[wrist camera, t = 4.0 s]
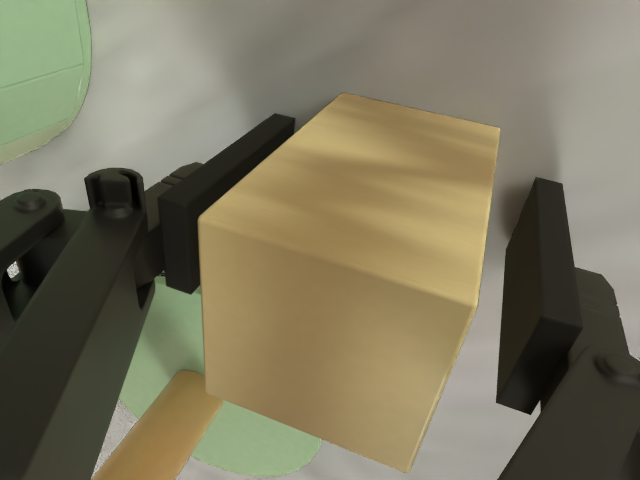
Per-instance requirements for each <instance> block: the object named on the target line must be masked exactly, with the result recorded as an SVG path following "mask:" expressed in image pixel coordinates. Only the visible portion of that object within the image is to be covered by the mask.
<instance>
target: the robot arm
mask: <svg viewBox="0 0 640 480" xmlns="http://www.w3.org/2000/svg"><path fill="white" fill-rule="evenodd" d="M294 127H295V118H292V117H288V116H284V115H280V114H276V113H275V114H273V115H272V116H270V117H269V118H268V119H266V120H265V121H263V122H262V123H261V124H259V125H258V126H256V127H255V128H254V129H252V130H251V131H249V132H248V133H247V134H245V135H244V136H242V137H241V138H240V139H238V140H237V141H235V142H234V143H233V144H231V145H230V146H228V147H227V148H226V149H224V150H223V151H221V152H220V153H219V154H217V155H216V156H215V157H213V158H212V159H210V160H209V161H208V162H206V163H205V164H201V163H198V162H195V163H192V164H189V165H186V166H182V167H180V168H179V169H177V170H176V171H174V172H173V173H171V174H170V176H167V177H165V178H164V179H162V180H161V182H158V183H156V184H155V185H153V186H152V187H150V188H149V189H148V190H146V191H145V192H144V184H143V177H142V176H141V175H140V174H139V173H138V172H136V171H134V170H131V169H125V168H107V169H102V170H98V171H95V172H93V173H90V174H89V175H88V176H87V177H85V178H84V180H85V185H86V191H87V196H88V201H89V206H90V209H89V211H78V210H67V209H63V207H62V203H61V198H60V196H59V195H58V194H57V193H55V192H52V191H49V190H42V189H32V190H31V189H28V190H24V191H21V192H17V193H14V194H12V195H10V196H8V197H6V198H4V199H3V200H1V201H0V480H91V477H92V474H93V471H94V468H95V465H96V462H97V459H98V456H99V454H100V451H101V448H102V445H103V442H104V439H105V436H106V433H107V430H108V427H109V425H110V422H111V419H112V416H113V413H114V410H115V407H116V404H117V401H118V398H119V396H120V393H121V390H122V387H123V384H124V381H125V378H126V375H127V372H128V369H129V366H130V364H131V361H132V358H133V355H134V352H135V349H136V346H137V343H138V340H139V337H140V335H141V332H142V329H143V326H144V323H145V320H146V317H147V314H148V311H149V308H150V306H151V303H152V300H153V297H154V294H155V278H156V277H157V276H158V275H159V274H160V273H161V272H162V271H163V270H165V280H166V286H167V287H170V288H173V289H175V290H178V291H181V292H184V293H187V294H190V295H191V294H192V293H193V292H194V291H195V290H196V289H197V288H198V287H199V286H200V264H199V242H198V218H199V216H200V215H201V214H202V213H203V212H205V211H206V210H207V209H208V208H209V207H210V206H212V205H213V204H214V203H215V202H216V201H217V200H219V199H220V198H221V197H222V196H223V195H224V194H225V193H227V192H228V191H229V190H230V189H231V188H232V187H234V186H235V185H236V184H237V183H238V182H239V181H241V180H242V179H243V178H244V177H245V176H246V175H247V174H249V173H250V172H251V171H252V170H253V169H254V168H256V167H257V166H258V165H259V164H260V163H261V162H262V161H264V160H265V159H266V158H267V157H268V156H269V155H271V154H272V153H273V152H274V151H275V150H276V149H278V148H279V147H280V146H281V145H282V144H283V143H284V142H286V141H287V140H288V139H289V138H290V137H291V136H293V135H294ZM15 261H16V263H17V266H18V269H19V273H18V274H17V275H16V276H15V277H13V278H10V277H9V275H8V272H7V269H8V267H9V266H10V265H11V264H13V263H14V262H15ZM616 304H617V301H616V297H615V293H614V289H613V288H612V287H611V286H610V284H609V283H608V282H607V281H606V279H605V278H604V277H603V276H602V275H601V274H598V273H594V272H591V271H587V270H583V269H580V268H576V267H574V260H573V253H572V247H571V240H570V233H569V226H568V219H567V212H566V205H565V198H564V191H563V184H562V183H558V182H554V181H550V180H545V179H541V178H537V177H536V179H535V181H534V183H533V186H532V188H531V191H530V193H529V195H528V198H527V200H526V203H525V205H524V207H523V210H522V212H521V215H520V217H519V219H518V222H517V224H516V227H515V229H514V231H513V234H512V236H511V239H510V241H509V243H508V246H507V248H506V255H505V271H504V287H503V302H502V318H501V333H500V349H499V364H498V380H497V395H496V403H498V404H501V405H504V406H507V407H510V408H512V409H515V410H518V411H521V412H524V413H527V414H529V415H531V414H532V412H533V410H534V409H535V407H536V405H537V404H538V402H539V400H540V407H541V413H540V415H539V416H538V418H537V419H536V421H535V423H534V424H533V426H532V427H531V429H530V430H529V432H528V433H527V435H526V436H525V438H524V439H523V441H522V443H521V444H520V446H519V447H518V449H517V450H516V452H515V453H514V455H513V456H512V458H511V459H510V461H509V463H508V464H507V466H506V467H505V469H504V470H503V472H502V473H501V475H500V476H499V478H498V479H497V480H640V362H639V361H638V360H637V359H635V358H634V357H632V356H631V355H630V354H629V350H628V346H627V342H626V338H625V334H624V330H623V326H622V322H621V318H619V316H620V314H619V310H618V306H616Z"/></svg>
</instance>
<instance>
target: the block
mask: <svg viewBox="0 0 640 480" xmlns="http://www.w3.org/2000/svg"><path fill="white" fill-rule="evenodd" d="M499 137H500V129H499V128H497V127H493V126H489V125H484V124H480V123H475V122H471V121H467V120H462V119H458V118H453V117H449V116H444V115H440V114H436V113H431V112H427V111H422V110H418V109H414V108H409V107H405V106H400V105H396V104H391V103H387V102H383V101H378V100H374V99H369V98H365V97H361V96H356V95H352V94H347V93H341V94H340V95H339V96H338V97H337V98H335V99H334V100H333V101H332V102H331V103H330V104H328V105H327V106H326V107H325V108H324V109H323V110H321V111H320V112H319V113H318V114H317V115H316V116H315V117H313V118H312V119H311V120H310V121H309V122H308V123H306V124H305V125H304V126H303V127H302V128H301V129H300V130H298V131H297V132H296V133H295V134H294V135H293V136H291V137H290V138H289V139H288V140H287V141H286V142H284V143H283V144H282V145H281V146H280V147H279V148H278V149H276V150H275V151H274V152H273V153H272V154H271V155H269V156H268V157H267V158H266V159H265V160H264V161H262V162H261V163H260V164H259V165H258V166H257V167H256V168H254V169H253V170H252V171H251V172H250V173H249V174H247V175H246V176H245V177H244V178H243V179H242V180H241V181H239V182H238V183H237V184H236V185H235V186H234V187H232V188H231V189H230V190H229V191H228V192H227V193H225V194H224V195H223V196H222V197H221V198H220V199H219V200H217V201H216V202H215V203H214V204H213V205H212V206H210V207H209V208H208V209H207V210H206V211H205V212H203V213H202V214H201V215H200V216H199V218H198V242H199V264H200V286H201V308H202V331H203V353H204V375H205V391H206V392H207V393H208V394H211V395H213V396H216V397H218V398H220V399H223V400H225V401H228V402H230V403H233V404H235V405H238V406H240V407H243V408H245V409H248V410H250V411H253V412H255V413H258V414H260V415H263V416H265V417H268V418H270V419H273V420H275V421H278V422H280V423H283V424H285V425H288V426H290V427H292V428H295V429H297V430H300V431H302V432H305V433H307V434H310V435H312V436H315V437H317V438H320V439H322V440H325V441H327V442H330V443H332V444H335V445H337V446H340V447H342V448H345V449H347V450H350V451H352V452H355V453H357V454H360V455H362V456H364V457H367V458H369V459H372V460H374V461H377V462H379V463H382V464H384V465H387V466H389V467H392V468H394V469H397V470H399V471H402V472H404V473H408V472H409V471H410V470H411V468H412V465H413V463H414V460H415V458H416V455H417V453H418V451H419V448H420V446H421V443H422V441H423V438H424V436H425V434H426V431H427V429H428V426H429V424H430V421H431V419H432V416H433V414H434V412H435V409H436V407H437V404H438V402H439V399H440V397H441V394H442V392H443V390H444V387H445V385H446V382H447V380H448V377H449V375H450V373H451V370H452V368H453V365H454V363H455V360H456V358H457V355H458V353H459V351H460V348H461V346H462V343H463V341H464V338H465V336H466V333H467V331H468V329H469V326H470V324H471V321H472V319H473V316H474V314H475V311H476V309H477V307H478V301H479V293H480V285H481V277H482V269H483V262H484V254H485V246H486V238H487V231H488V223H489V215H490V207H491V200H492V192H493V184H494V176H495V168H496V161H497V153H498V145H499Z"/></svg>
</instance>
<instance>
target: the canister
mask: <svg viewBox="0 0 640 480" xmlns="http://www.w3.org/2000/svg"><path fill="white" fill-rule="evenodd" d="M91 53H92V47H91V33H90V23H89V18H88V12H87V6H86V0H0V165H2V164H4V163H6V162H9V161H11V160H13V159H15V158H18V157H20V156H22V155H25V154H27V153H29V152H31V151H34V150H36V149H38V148H40V147H43V146H44V145H46V144H47V143H48V142H49V141H50V140H51V139H53V138H55V137H57V136H58V135H60V134H61V133H62V132H63V131H65V130H66V129H67V128H68V127H69V125H70V124H71V123H72V122H73V120H74V119H75V118H76V116H77V114H78V112H79V111H80V109H81V107H82V105H83V102H84V99H85V96H86V93H87V90H88V85H89V78H90V72H91Z"/></svg>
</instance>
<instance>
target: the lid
mask: <svg viewBox="0 0 640 480" xmlns="http://www.w3.org/2000/svg"><path fill="white" fill-rule="evenodd" d="M118 399H119V400H120V401H121V402H122V403H123V404H124V405H125V407H126V408H127V409H128V410H129V411H130V412H131V413H132V414H133V415H134V416H135V417H136V418H137V419H138V421H137V422H136V423H135V425H134V426H133V427H132V429H131V430H130V431H129V432H128V434H127V435H126V436H125V437H124V439H123V440H122V441H121V442H120V444H119V445H118V446H117V447H116V449H115V450H114V451H113V452H112V454H111V455H110V456H109V457H108V459H107V460H106V461H105V462H104V464H103V465H102V466H101V467H100V469H99V470H98V471H97V472H96V474H95V475H94V476H93V477H92V479H91V480H175V479H176V478H177V476H178V475H179V473H180V472H181V470H182V468H183V467H184V465H185V464H186V462H187V461H188V459H189V458H190V456H192V457H194V458H196V459H198V460H200V461H202V462H204V463H207V464H209V465H212V466H214V467H217V468H220V469H223V470H226V471H230V472H234V473H238V474H243V475H249V476H260V477H268V476H279V475H285V474H288V473H291V472H294V471H297V470H298V469H300V468H302V467H304V466H305V465H306V464H307V463H309V462H310V461H311V460H312V459H313V457H314V456H315V455H316V453H317V452H318V449H319V447H320V444H321V442H322V439H320V438H317V437H315V436H312V435H310V434H307V433H305V432H302V431H300V430H297V429H295V428H292V427H290V426H288V425H285V424H283V423H280V422H278V421H275V420H273V419H270V418H268V417H265V416H263V415H260V414H258V413H255V412H253V411H250V410H248V409H245V408H243V407H240V406H238V405H235V404H233V403H230V402H228V401H225V400H223V399H220V398H218V397H216V396H213V395H211V394H208V393H207V392H206V391H205V375H204V353H203V331H202V308H201V286H199V287H198V288H197V289H196V290H195V291H194V292H193V293H192V294H191V295H190V294H187V293H184V292H181V291H178V290H175V289H173V288H170V287H167V286H166V280H165V277H163V276H157V277H156V278H155V294H154V297H153V300H152V303H151V306H150V308H149V311H148V314H147V317H146V320H145V323H144V326H143V329H142V332H141V335H140V337H139V340H138V343H137V346H136V349H135V352H134V355H133V358H132V361H131V364H130V366H129V369H128V372H127V375H126V378H125V381H124V384H123V387H122V390H121V393H120V396H119V398H118Z"/></svg>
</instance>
